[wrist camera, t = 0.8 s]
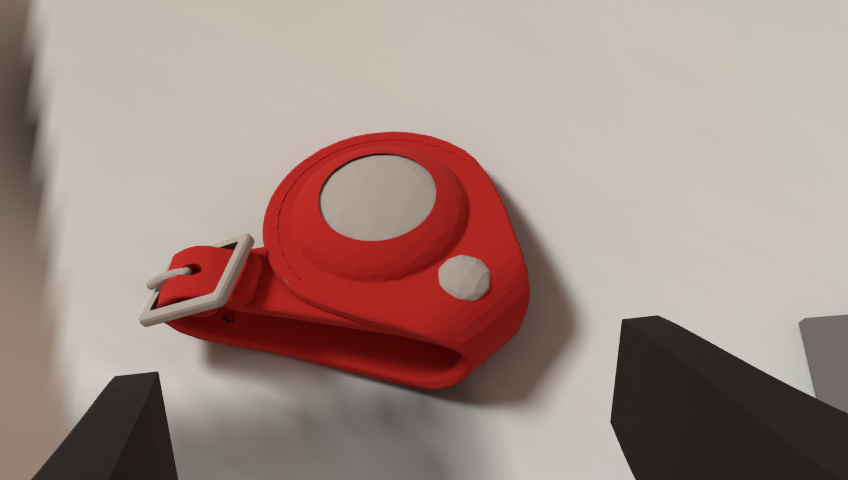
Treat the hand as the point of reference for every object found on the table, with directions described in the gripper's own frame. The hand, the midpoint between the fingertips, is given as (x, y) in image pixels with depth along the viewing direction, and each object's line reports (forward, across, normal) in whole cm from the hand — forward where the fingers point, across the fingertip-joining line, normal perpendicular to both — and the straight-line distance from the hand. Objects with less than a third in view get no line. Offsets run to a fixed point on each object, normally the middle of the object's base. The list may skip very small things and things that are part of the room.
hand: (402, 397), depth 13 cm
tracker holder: (+16, 0, +6) cm, 17 cm away
